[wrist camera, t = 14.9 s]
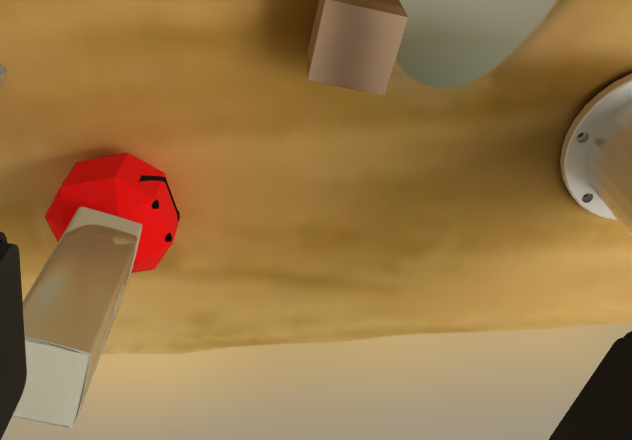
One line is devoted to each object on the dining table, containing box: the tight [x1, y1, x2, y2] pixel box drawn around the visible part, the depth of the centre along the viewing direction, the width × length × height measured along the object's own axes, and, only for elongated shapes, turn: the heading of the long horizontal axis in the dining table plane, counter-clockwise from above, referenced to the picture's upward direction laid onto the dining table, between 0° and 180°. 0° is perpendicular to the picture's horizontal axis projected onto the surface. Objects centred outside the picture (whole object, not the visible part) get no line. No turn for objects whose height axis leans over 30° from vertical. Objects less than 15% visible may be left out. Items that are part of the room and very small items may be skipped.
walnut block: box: [307, 0, 408, 96], centre depth 39 cm, size 5×5×5 cm
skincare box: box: [12, 207, 142, 428], centre depth 36 cm, size 6×4×12 cm
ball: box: [45, 153, 180, 273], centre depth 44 cm, size 8×8×8 cm
